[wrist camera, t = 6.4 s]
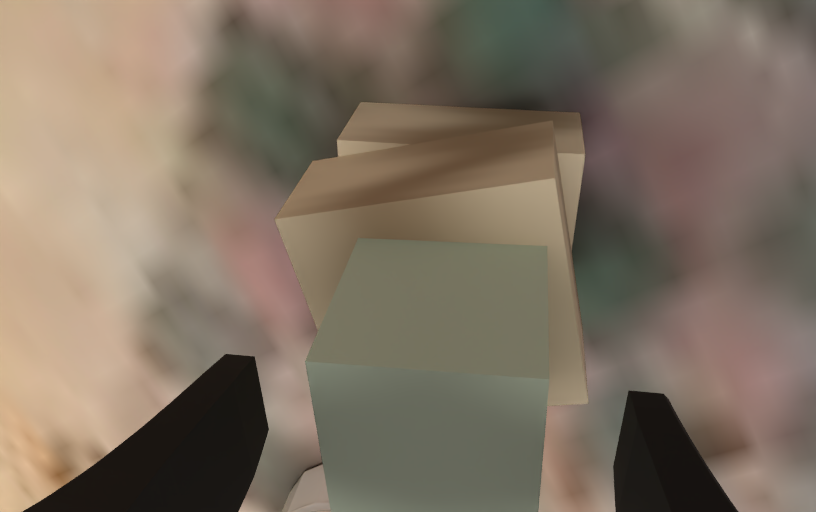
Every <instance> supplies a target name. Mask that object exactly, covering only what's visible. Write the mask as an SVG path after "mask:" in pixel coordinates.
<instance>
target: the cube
mask: <svg viewBox="0 0 816 512" xmlns="http://www.w3.org/2000/svg"><path fill="white" fill-rule="evenodd" d="M305 363H306V369H307V375H308V381H309V387H310V392H311V398H312V404H313V410H314V416H315V422H316V428H317V434H318V439H319V445H320V451H321V457H322V463H323V469H324V475H325V480H326V486H327V492H328V498H329V504H330V510H331V512H538V508H539V496H540V484H541V473H542V461H543V449H544V437H545V425H546V413H547V402H548V390H549V325H548V263H547V246H533V245H510V244H486V243H463V242H440V241H417V240H393V239H370V238H358V240H357V242H356V244H355V247H354V249H353V251H352V254H351V256H350V258H349V261H348V263H347V265H346V268H345V270H344V272H343V275H342V277H341V279H340V282H339V284H338V286H337V288H336V291H335V293H334V295H333V298H332V300H331V302H330V305H329V307H328V309H327V312H326V314H325V316H324V319H323V321H322V323H321V326H320V328H319V330H318V333H317V335H316V337H315V340H314V342H313V344H312V347H311V349H310V351H309V354H308V356H307V358H306V361H305Z"/></svg>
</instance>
